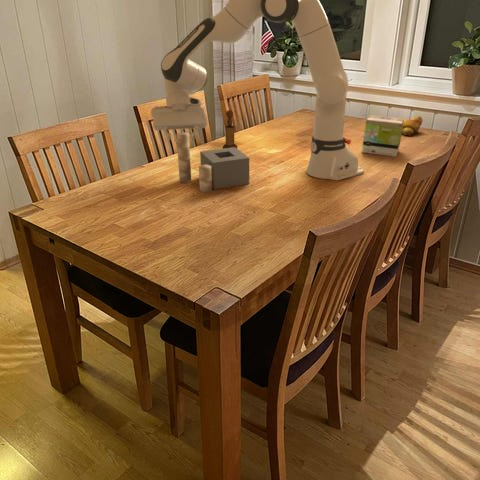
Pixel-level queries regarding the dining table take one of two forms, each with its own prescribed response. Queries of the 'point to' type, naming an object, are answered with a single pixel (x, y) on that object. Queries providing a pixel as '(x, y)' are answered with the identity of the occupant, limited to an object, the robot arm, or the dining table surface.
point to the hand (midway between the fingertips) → (182, 138)
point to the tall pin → (184, 157)
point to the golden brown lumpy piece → (411, 125)
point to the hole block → (226, 167)
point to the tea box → (382, 135)
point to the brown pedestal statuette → (229, 132)
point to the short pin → (205, 178)
